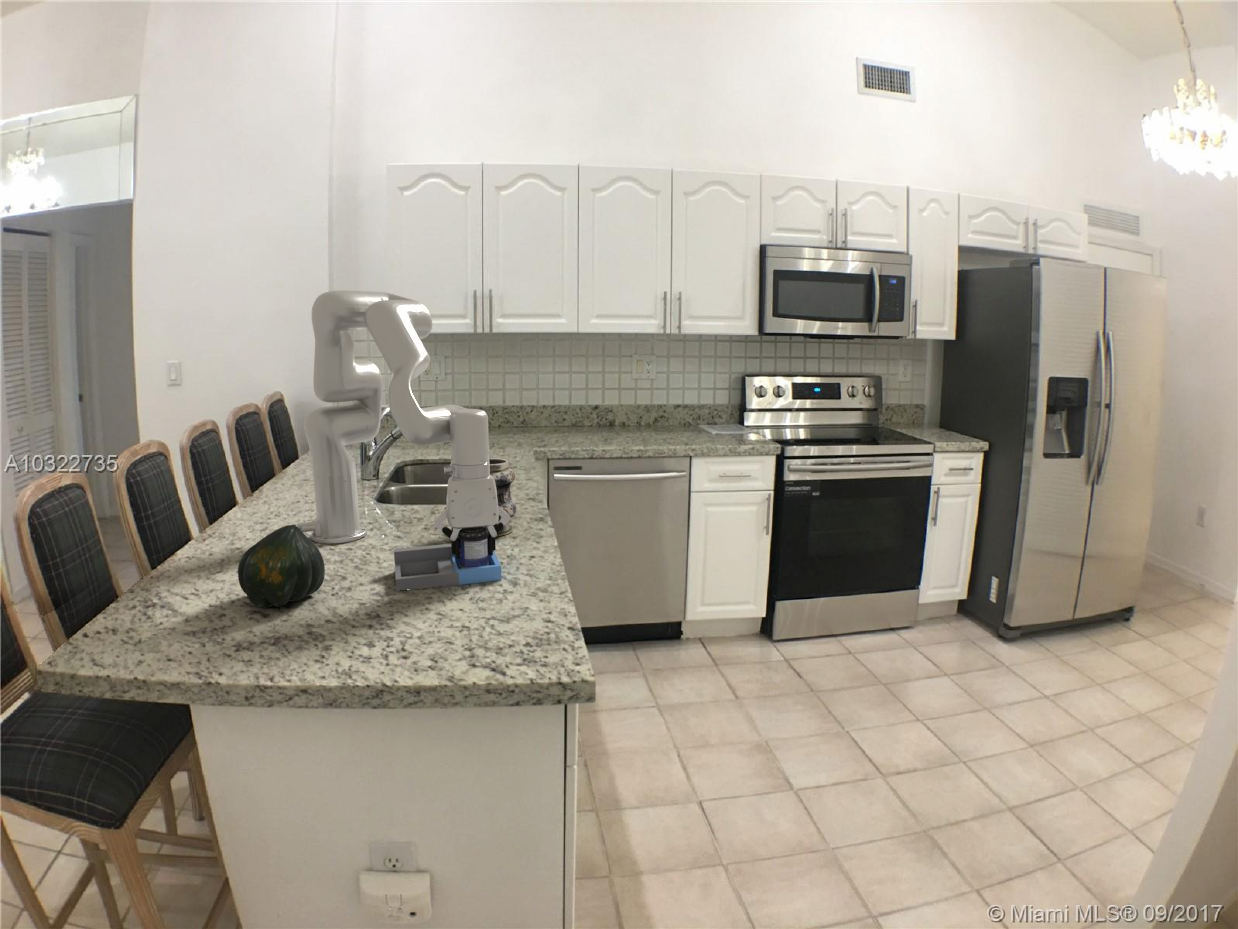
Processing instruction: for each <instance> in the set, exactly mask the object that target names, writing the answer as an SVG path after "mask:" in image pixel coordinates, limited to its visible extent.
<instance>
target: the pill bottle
mask: <svg viewBox="0 0 1238 929" xmlns="http://www.w3.org/2000/svg"><path fill="white" fill-rule="evenodd" d="M457 537H458V539H459V552H460V558H459V569H461V568H471V567H480V566H489V546H488V531H487V529H486V528H484V527H473V528H460V530H459V533H458V535H457Z"/></svg>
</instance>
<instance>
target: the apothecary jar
mask: <svg viewBox="0 0 1238 929" xmlns="http://www.w3.org/2000/svg"><path fill="white" fill-rule="evenodd" d="M489 465H490V475H492V476H493V477H494V480H495V485H496V491H497V500H498V506H499V507H500V508H502V509H503V510H504V511H505V512H506V513H507V514H508V515H509V516H510V517H511V518H513V517H514V515H515V514H516V513H517V505H516V503H515V502H514V501H513V500H512V490H511V489H512V488H511V487H512V485H511V484H513V483H514V481H515V479H516V474H515V472H514V470H513V469H512V468H510V465H509V461H508V460H507V459H504V458H498V457H497V458H493V457H491V458H490V457H489ZM500 519H501V516H500V515H499V519H498V521H500ZM493 526H494V525H493ZM484 528H486V529H487V531H488V532H489V530H488V528H487V526H485V527H484ZM513 531H514V530H513V527H512V526H511V525H509V524H507V523H506V524H505V525H504V527H503V528H502V529H501V530H500V531H499V532H498V534H497V536H496V537H503V536H506V535H510V534H511V533H512V532H513ZM496 537H495V538H496Z"/></svg>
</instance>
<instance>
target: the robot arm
mask: <svg viewBox="0 0 1238 929" xmlns="http://www.w3.org/2000/svg"><path fill="white" fill-rule="evenodd" d="M311 324H312V329H313V335H314V359H313V379H312V380H313V384H312V385H313V391H314V395H315V396H316V398H317V399H318V400H319V401H321V402H325V403H342V402H351V403H350V404H349V403H348V404H341V405H340V404H339V405H330V406H323V407H319V408H316V409H313V410H312V411H310V412H309V413H307V415H306V416H305V419H304V421H303V422H304V423H303V428H304V435H305V438H306V440H307V444H308V448H309V452H310V453H309V454H310V458H311V467H312V476H313V479H312V480H313V487H314V488H313V490H314V501H315V513H316V518H315V519H314V520H311V521H308V522H306V521H304V522H303V521H302V522H297V524H296V526H297V527H298V528H299V529H300V530H301V531H302V532H303V533H307V532H311V534H310V536H311V537H310V538H311V539H310V540H311V541H312V542H315V543H320V544H325V545H327V544H328V545H329V544H343V543H349V542H354V541H357V540H360V539H362V538H364V537H365V536H366V535H367V534H368V530H367V529H368V528H366V527H365V526H364V525H360V510H359V497H358V496H359V495H358V485H357V483H358V481H357V470H356V462H355V460H354V458H353V456H352V455H351V454H350V453H349V451H348V450H347V448H346V446H349V445H354V444H361V443H364V442H370V441H371V440H373V439H374V438H376V437H377V435H378V433H379V432H380V427H381V420H382V419H381V418H382V406H383V397H384V396H383V395H384V380H383V376H382V373H381V370H380V369H379V367H378V366H377V365H376V364H375V363H374V362H373V361H371V360H368V359H356V358H355V357H356V356H355V354H356V344H355V343H356V342H355V340H354V337H353V336H352V334H351V333H350V331H368V332H369V334H370V335H371V337H372V339H373V341H374V343H375V345H376V346H377V348H378V350H379V352H380V354H381V356H382V358H383V360H384V361H385V363H386V365H387V367H388V369H389V371H390V372H391V379H390V382H389V386H388V405H389V410H390V413H391V416H392V417H393V420H394V421H395V424H396V425H397V427H398V429H399V431H400V432H401V433H402V435H403V438H405V439H406V440H407V441H408V442H409V443H410V444H412V445H414V446H416V447H426V446H431V445H437V444H441V443H442V444H443V443H448V442H449V443H450V464H449V465H447V466H444V467H443V471H444V474H450V477H448V479H447V480H448V481H447V489H446V505H445V506H446V508H445V509H444V510H443V511H442V512H441V513H440V514H439V515H438V516H437V517H436V518H435V520H433V526H434V527H435V528H436V529H438V530H439V531H440V532H441V533H443V534H444V535H445V536H446V537H447V538H449V539H450V544H451V551H452V554H455V557H456V559H459V558H460V552H459V539H458V533H459V530H461V529H462V528H473V527H485V526H487V528H488V530H489V532H488V546H489V555H490V556H493V550H494V551H496V536H497V534H498V532H499V531H500V530H501V529H502V528H503V527H504V525H505V524H506V525H507V524H508V523H509V521H510V520H512V517H510V516H509V515H508V514H507V513H506V512H505V511H504V510H503V509H502V508H500V507H499V506H498V500H497V491H496V485H495V480H494V477H493V476H492V475H490V465H489V458H490V445H489V444H490V438H489V437H490V436H489V416H488V413H487V412H486V411H485V410H482V409H478V408H466V407H464V406H461V405H457V404H445V405H436V406H428V407H426V406H425V407H422V408H421V407H420V406H419V404H418V402H417V400H416V399H415V398H416V397H415V396H414V394H413V392H412V388H411V387H412V386H411V385H412V384H411V381H412V380H414V379H416V378H418V377H419V376H420V375H421V374H423V373H425V371H426V370H427V369H428V367H429V365H430V363H431V357H430V355H429V353H428V351H427V350H426V347H425V345H424V344H423V342H422V340H423V339H426V338H427V337H428V336H429V335H430V333H431V332H432V329H433V318H432V315H431V313H430V311H429V309H428V308H427V307H426V305H424V304H423V303H422V302H420V301H418V300H415V299H412V298H408V297H404V296H401V295H398V294H394V293H389V292H384V291H383V292H382V291H367V290H364V291H362V290H347V289H346V290H343V289H342V290H331V291H327V292H326V291H325V292H323V293H320V294H319V295H318V296H317V298H315V300H314V302H313V304H312V307H311ZM499 515H500V516H501V519H500V521H498V519H499ZM445 520H447V524H448V526H449V527H448V526H447V525H445V524H444V522H445ZM493 525H494V526H493Z"/></svg>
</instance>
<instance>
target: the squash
mask: <svg viewBox="0 0 1238 929" xmlns="http://www.w3.org/2000/svg"><path fill="white" fill-rule="evenodd" d="M237 566H238V568H237V579H238V582H239V585H240V586H239V587H240V588H241V590H242V591H243V593H244V594H245V595H246V596H247V598H248V601H249V602H250V603H251V604H252V605H254V606H255V607H258V608H264V609H265V607H266V608H269V607H271V606H273V607H276V608H281V607H283V606H285V605H286V604H287V603H289V601H290V602H297V601H301V600H302V599H304V598H306V597H308V596H311V595H312V594H314V593H316V592H317V591H318V590H319V589H320V588H321V586H322V585H323V583H324V580H325V574H326V569H325V566H326V565H325V561H324V558H323V556H322V553H321V552H320V550H319V548H318V546H317V545H316V544H315V543H314V541H313V540H312V539H310V538H309V537H308V536H307V535H306V534H305V532H302V530H300V529H299V528H298V527H297V524H294V523H293V524H287V525H284V526H282V527H279V528H277V529H275V530H274V531H271V533H269V534H267V535H266V536H264V537H263V538H261V539H260V540H259V541H257V542H256V543H254V545H252V546H250V547H249V548H248V549H247V550H246V551H245V552H244V553H243V554H242V556H241V558H240V560H239V564H238V565H237Z"/></svg>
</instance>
